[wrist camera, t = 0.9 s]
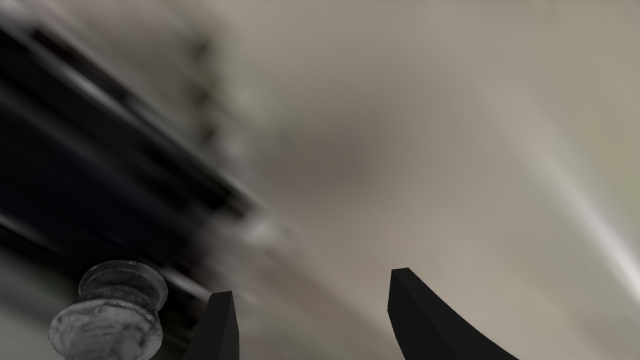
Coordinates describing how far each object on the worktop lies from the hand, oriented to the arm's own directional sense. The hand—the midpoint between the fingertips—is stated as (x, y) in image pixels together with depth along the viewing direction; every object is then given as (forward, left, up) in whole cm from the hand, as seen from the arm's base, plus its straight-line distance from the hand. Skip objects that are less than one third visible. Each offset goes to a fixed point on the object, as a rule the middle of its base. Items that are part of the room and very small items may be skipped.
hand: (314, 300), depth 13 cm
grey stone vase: (-8, +11, -11) cm, 17 cm away
